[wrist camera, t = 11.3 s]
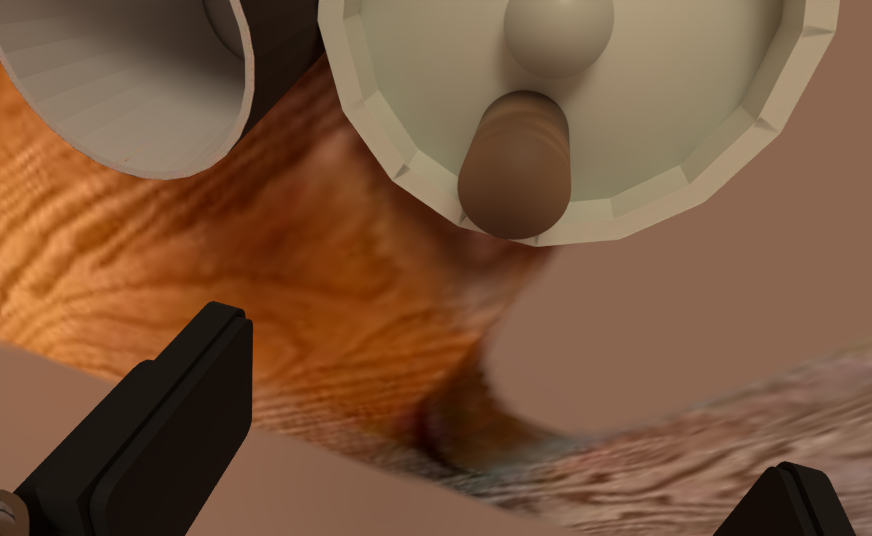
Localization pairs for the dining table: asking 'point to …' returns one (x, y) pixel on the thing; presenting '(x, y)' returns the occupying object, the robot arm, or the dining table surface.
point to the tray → (578, 92)
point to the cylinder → (517, 167)
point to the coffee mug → (156, 73)
